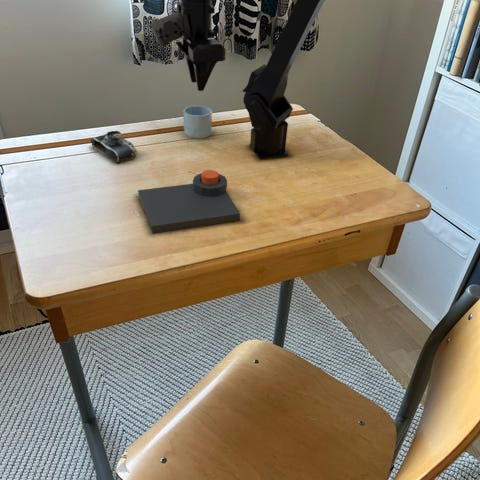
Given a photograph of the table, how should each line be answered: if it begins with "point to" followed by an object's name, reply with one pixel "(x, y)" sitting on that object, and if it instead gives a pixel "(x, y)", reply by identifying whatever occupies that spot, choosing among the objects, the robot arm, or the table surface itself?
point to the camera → (114, 146)
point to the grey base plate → (188, 205)
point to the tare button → (210, 177)
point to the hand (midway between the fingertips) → (197, 86)
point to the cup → (197, 121)
